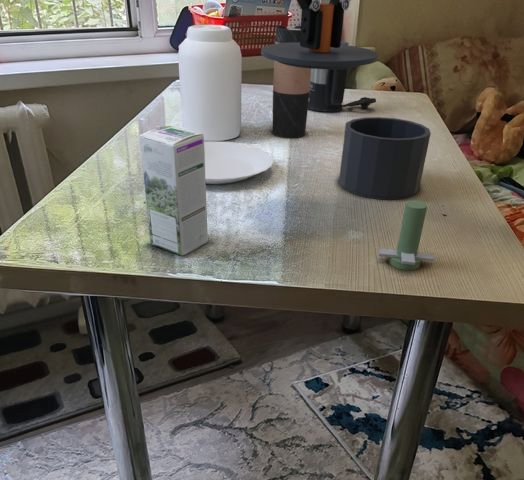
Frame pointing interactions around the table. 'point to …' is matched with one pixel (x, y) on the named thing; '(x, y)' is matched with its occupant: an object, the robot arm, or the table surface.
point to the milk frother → (331, 90)
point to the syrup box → (175, 188)
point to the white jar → (210, 82)
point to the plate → (233, 162)
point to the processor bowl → (383, 157)
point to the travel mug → (290, 91)
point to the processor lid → (320, 50)
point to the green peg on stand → (409, 239)
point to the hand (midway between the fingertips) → (320, 45)
